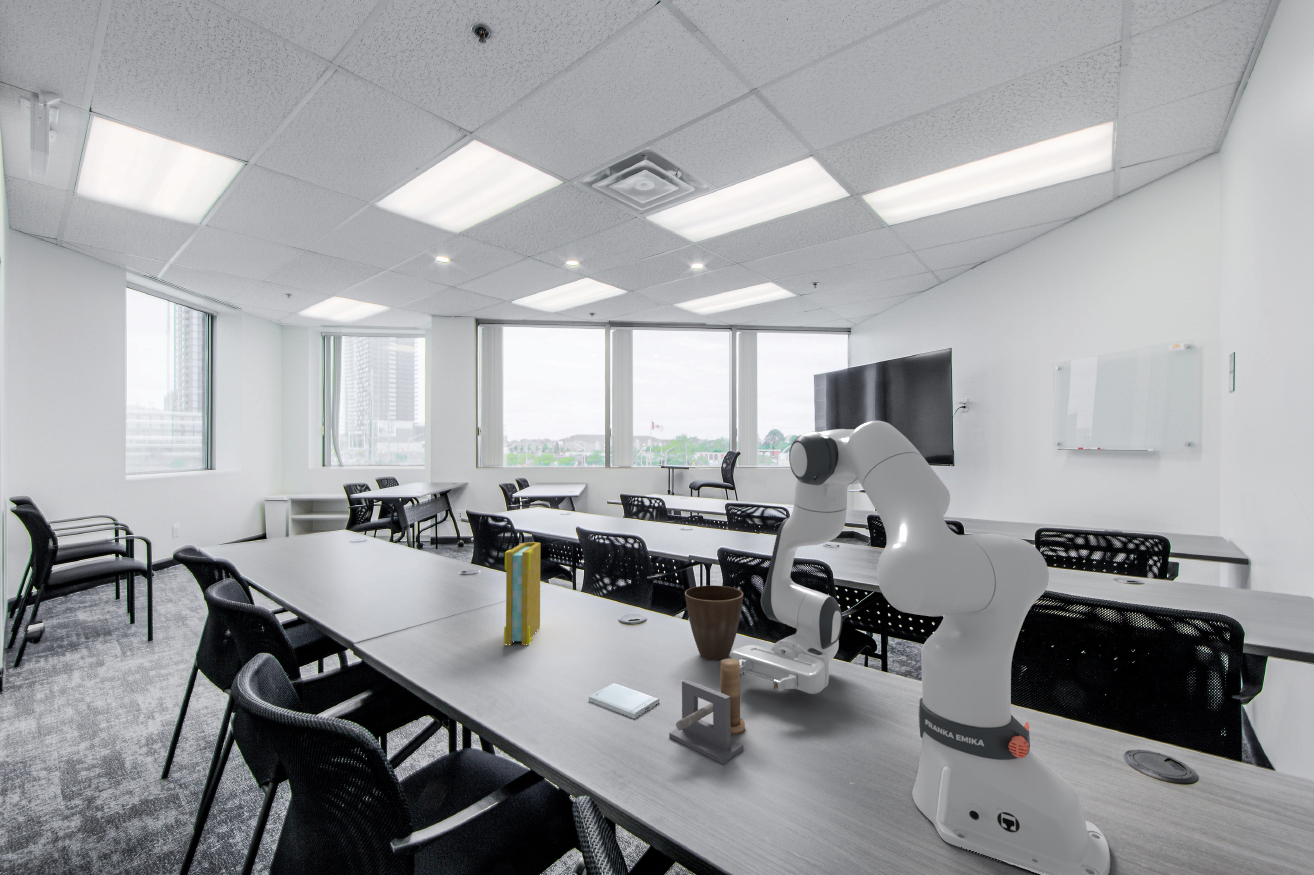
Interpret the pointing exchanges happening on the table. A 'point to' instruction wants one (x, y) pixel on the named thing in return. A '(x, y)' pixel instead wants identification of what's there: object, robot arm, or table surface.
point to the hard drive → (623, 700)
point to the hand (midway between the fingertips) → (755, 678)
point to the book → (522, 593)
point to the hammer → (728, 687)
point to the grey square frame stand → (707, 724)
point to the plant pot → (714, 619)
